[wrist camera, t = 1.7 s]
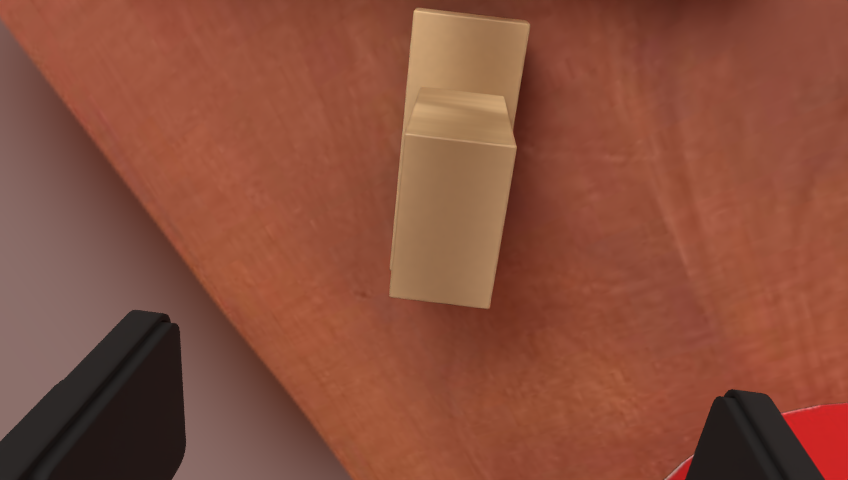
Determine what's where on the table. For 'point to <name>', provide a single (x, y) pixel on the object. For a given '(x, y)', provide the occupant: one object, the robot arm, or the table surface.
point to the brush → (456, 155)
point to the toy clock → (812, 439)
